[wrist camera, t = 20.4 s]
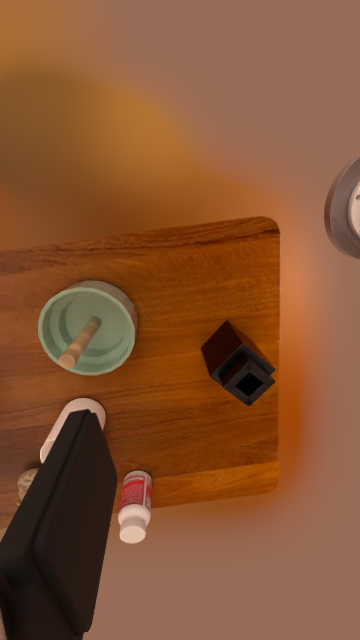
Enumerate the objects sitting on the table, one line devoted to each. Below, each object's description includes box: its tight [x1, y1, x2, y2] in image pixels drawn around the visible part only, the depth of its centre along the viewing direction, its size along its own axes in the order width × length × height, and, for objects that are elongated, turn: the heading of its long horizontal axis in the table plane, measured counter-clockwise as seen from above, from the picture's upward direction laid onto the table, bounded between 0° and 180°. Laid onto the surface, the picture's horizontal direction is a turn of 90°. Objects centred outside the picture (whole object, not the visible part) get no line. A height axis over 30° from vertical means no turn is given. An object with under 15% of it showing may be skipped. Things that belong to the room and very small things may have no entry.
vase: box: [201, 321, 275, 406], centre depth 42 cm, size 7×7×13 cm
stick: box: [58, 317, 101, 369], centre depth 38 cm, size 2×2×14 cm
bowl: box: [38, 280, 138, 375], centre depth 42 cm, size 14×14×6 cm
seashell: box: [17, 468, 39, 505], centre depth 53 cm, size 11×7×10 cm
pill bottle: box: [118, 471, 152, 543], centre depth 52 cm, size 6×6×11 cm
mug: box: [40, 398, 106, 463], centre depth 47 cm, size 12×8×10 cm
